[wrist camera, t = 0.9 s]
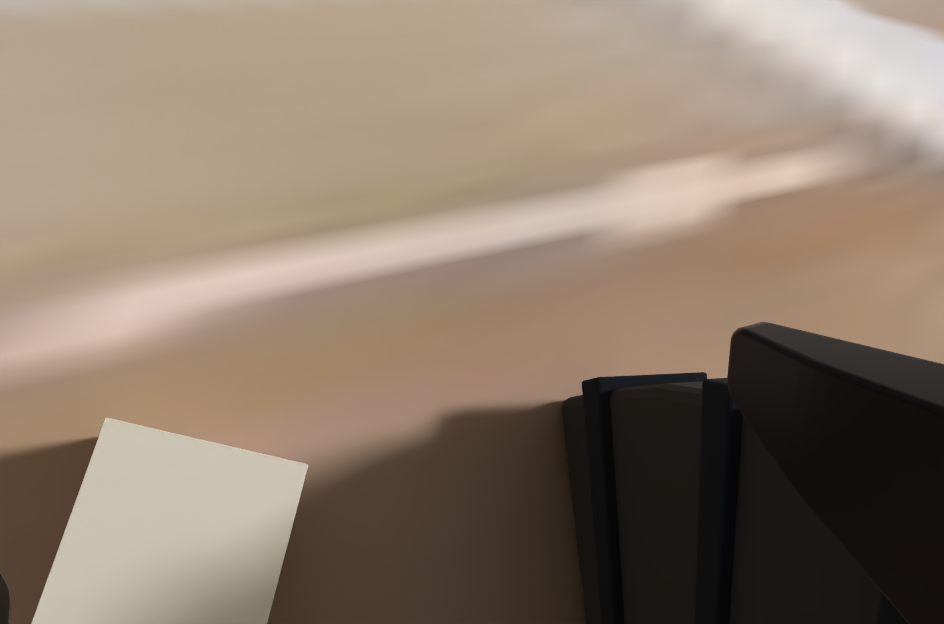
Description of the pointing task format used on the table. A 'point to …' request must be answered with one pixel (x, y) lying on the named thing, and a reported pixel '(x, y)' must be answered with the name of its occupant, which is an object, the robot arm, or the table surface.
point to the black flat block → (697, 515)
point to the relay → (172, 533)
